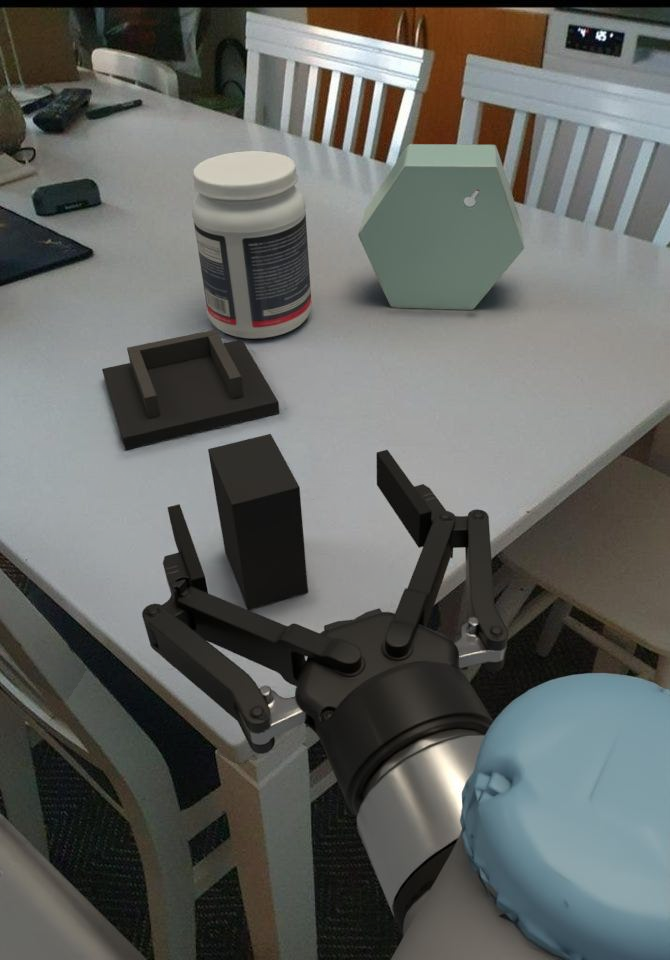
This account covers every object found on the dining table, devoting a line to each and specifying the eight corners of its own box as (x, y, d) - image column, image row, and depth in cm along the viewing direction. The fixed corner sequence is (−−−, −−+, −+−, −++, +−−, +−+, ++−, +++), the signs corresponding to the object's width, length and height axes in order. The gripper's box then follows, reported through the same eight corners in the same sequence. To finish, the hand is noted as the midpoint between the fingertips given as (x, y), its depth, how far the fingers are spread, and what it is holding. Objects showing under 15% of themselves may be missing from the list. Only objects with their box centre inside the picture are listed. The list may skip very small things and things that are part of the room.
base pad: (125, 450, 80) (117, 417, 77) (104, 380, 90) (96, 348, 88) (279, 413, 84) (276, 380, 81) (243, 350, 94) (239, 319, 92)
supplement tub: (318, 295, 104) (311, 147, 93) (304, 345, 94) (294, 188, 83) (221, 293, 106) (201, 147, 94) (197, 342, 96) (171, 187, 84)
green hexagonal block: (447, 313, 109) (551, 185, 97) (446, 342, 103) (557, 209, 91) (341, 245, 105) (436, 102, 92) (333, 270, 99) (433, 121, 86)
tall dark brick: (247, 610, 63) (231, 504, 56) (225, 552, 68) (207, 448, 61) (308, 592, 64) (299, 486, 57) (281, 536, 69) (270, 433, 62)
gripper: (164, 927, 35) (97, 590, 50) (649, 736, 41) (456, 489, 57) (130, 841, 30) (67, 499, 46) (684, 640, 36) (463, 399, 52)
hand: (282, 493), depth 51 cm, fingers open, 13 cm apart
